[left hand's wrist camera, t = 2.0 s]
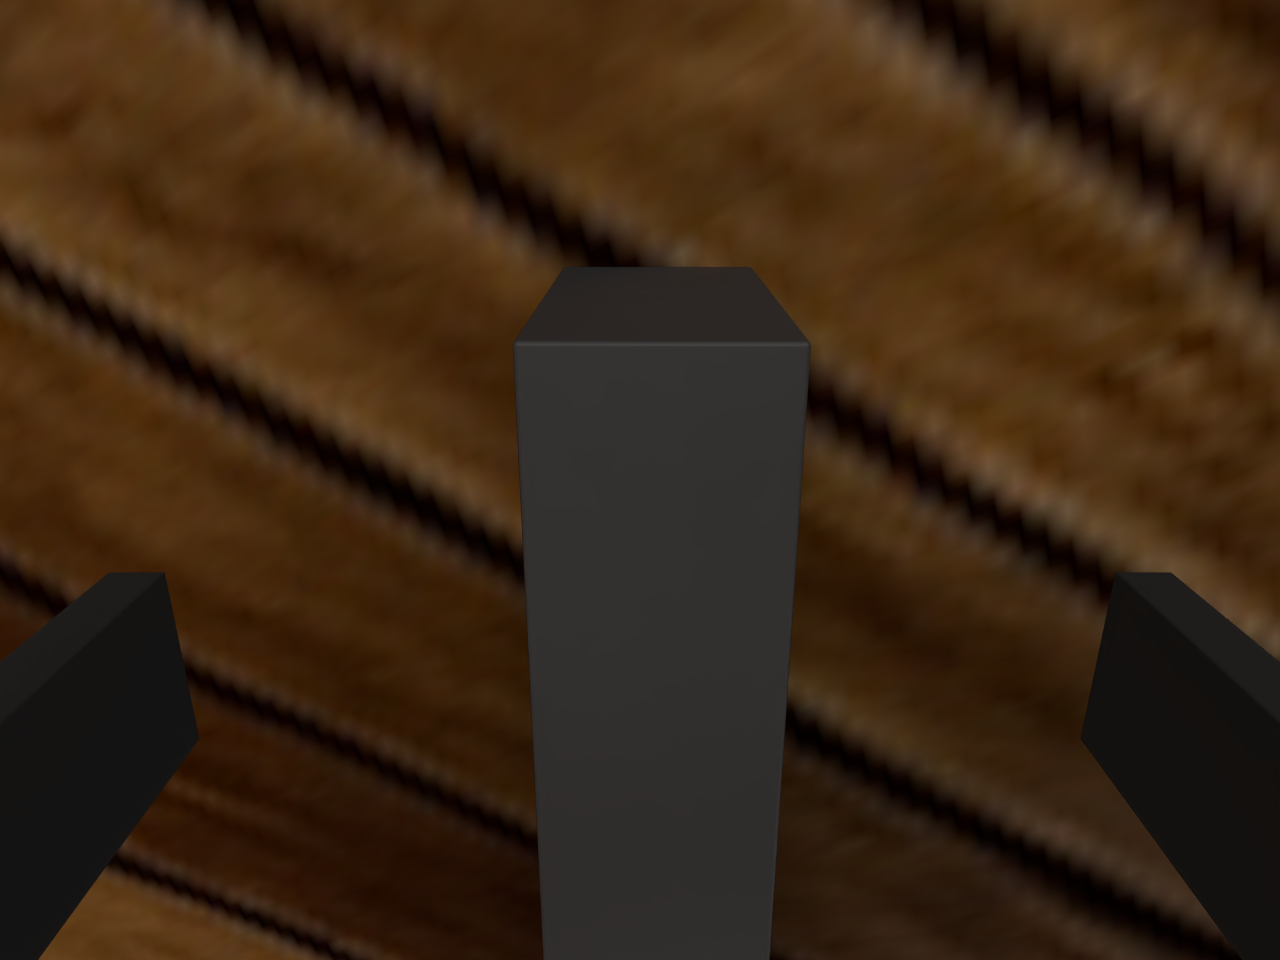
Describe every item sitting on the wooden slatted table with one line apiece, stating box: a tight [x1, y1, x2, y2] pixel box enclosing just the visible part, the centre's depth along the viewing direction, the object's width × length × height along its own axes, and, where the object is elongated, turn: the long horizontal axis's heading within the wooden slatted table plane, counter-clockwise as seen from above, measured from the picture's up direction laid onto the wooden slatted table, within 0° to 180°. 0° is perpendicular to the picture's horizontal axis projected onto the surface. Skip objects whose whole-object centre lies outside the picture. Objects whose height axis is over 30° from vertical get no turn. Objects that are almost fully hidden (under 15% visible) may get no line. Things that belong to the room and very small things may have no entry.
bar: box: [513, 267, 811, 960], centre depth 23 cm, size 24×5×9 cm, turn 0°
